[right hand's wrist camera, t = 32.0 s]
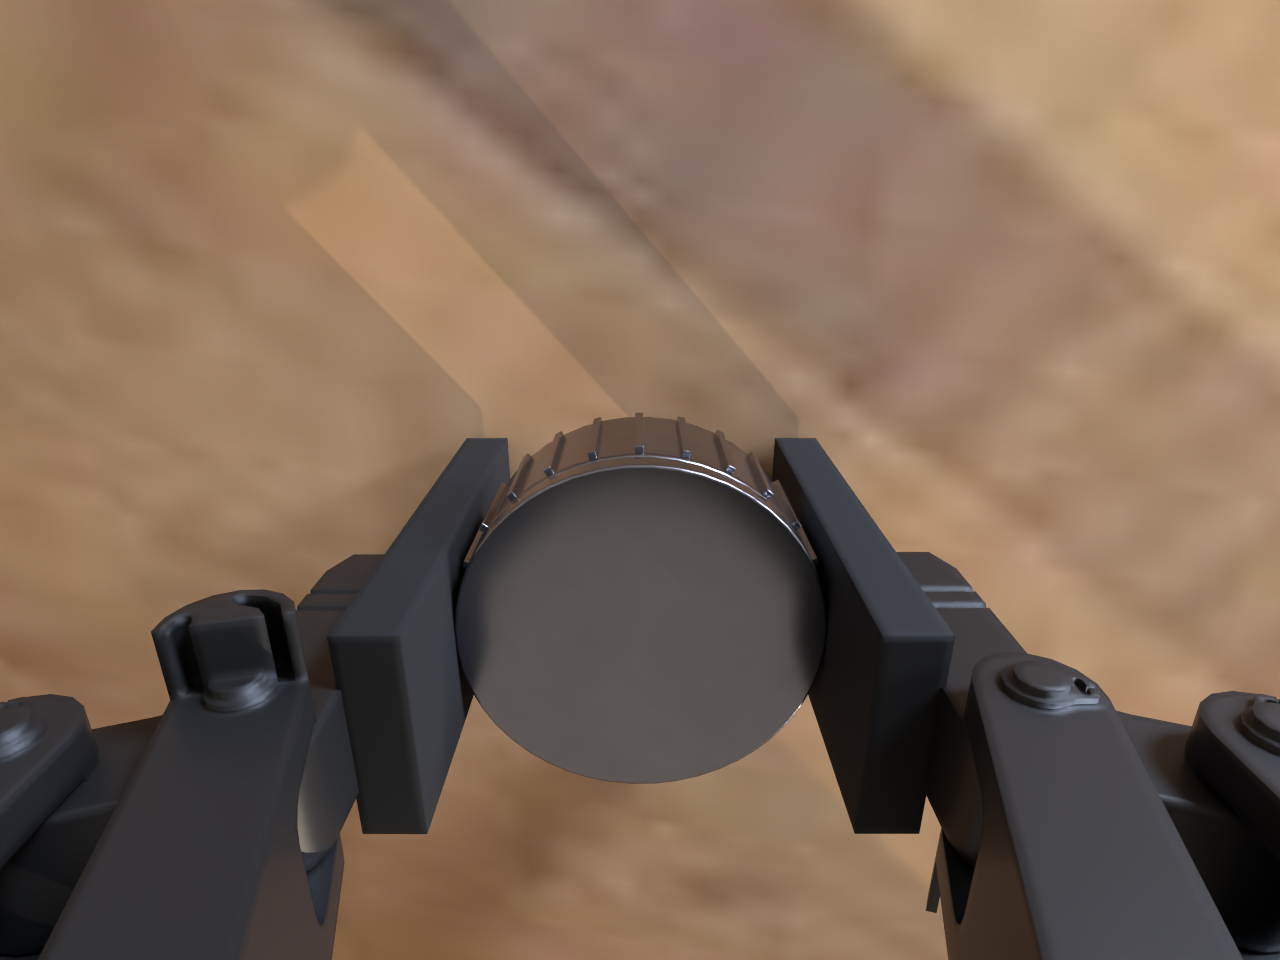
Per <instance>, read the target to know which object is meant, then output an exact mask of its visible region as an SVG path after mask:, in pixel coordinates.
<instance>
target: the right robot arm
mask: <svg viewBox="0 0 1280 960" xmlns="http://www.w3.org/2000/svg"><path fill="white" fill-rule="evenodd" d="M776 480H779V482H780V483H781V485H782V487H783V489H784V491H785V493H786V495H787V497H788V499H789V502H790V504H791V506H792V508H793V510H794V512H795V513H796V515H797V517H798V519H799V521H800V523H801V525H802V527H803V529H804V531H805V533H806V536H807V538H808V540H809V542H810V544H811V546H812V548H813V550H814V552H815V554H816V556H817V559H818V562H819V564H817V565H815V568H816V570H817V573H818V576H819V578H820V581H821V583H822V588H823V592H824V597H825V601H826V610H827V636H826V646H825V650H824V654H823V658H822V662H821V666H820V669H819V672H818V674H817V676H816V679H815V681H814V684H813V686H812V688H811V690H810V691H809V693H808V695H809V698H810V701H811V704H812V707H813V710H814V713H815V716H816V719H817V722H818V725H819V728H820V731H821V734H822V737H823V740H824V743H825V746H826V749H827V752H828V755H829V758H830V761H831V764H832V767H833V770H834V773H835V776H836V779H837V782H838V785H839V788H840V791H841V794H842V797H843V800H844V803H845V806H846V809H847V812H848V815H849V818H850V821H851V824H852V827H853V830H854V833H855V834H919V832H920V826H921V821H922V815H923V810H924V804H925V799H926V795H927V797H928V800H929V802H930V804H931V806H932V808H933V810H934V812H935V814H936V816H937V819H938V821H939V823H940V825H941V827H942V828H941V833H940V838H939V843H938V848H937V853H936V858H935V863H934V868H933V873H932V878H931V883H930V888H929V893H928V900H927V907H926V911H930V912H934V913H936V912H937V907H938V903H939V898H941V906H942V913H943V921H944V929H945V936H946V944H947V952H948V959H949V960H1280V700H1279V699H1276V697H1273V696H1268V695H1263V694H1253V693H1245V692H1236V691H1230V692H1222V693H1215V694H1211V695H1209V696H1208V697H1207V698H1206V699H1204V700H1203V701H1202V702H1200V705H1199V707H1198V710H1197V713H1196V716H1195V719H1194V722H1193V725H1192V727H1191V726H1186V725H1181V724H1176V723H1171V722H1166V721H1161V720H1156V719H1151V718H1146V717H1141V716H1136V715H1130V714H1127V713H1123V712H1119V711H1116V710H1115V708H1114V706H1113V704H1112V703H1111V701H1110V699H1109V698H1108V696H1107V695H1106V694H1105V693H1104V692H1103V690H1102V689H1101V688H1100V687H1099V686H1098V684H1097V683H1095V682H1094V681H1092V680H1091V679H1089V678H1088V677H1086V676H1085V675H1083V674H1082V673H1080V672H1079V671H1077V670H1076V669H1073V668H1071V667H1069V666H1066V665H1064V664H1062V663H1059V662H1057V661H1054V660H1052V659H1048V658H1044V657H1039V656H1035V655H1031V654H1027V653H1026V652H1025V650H1024V649H1023V648H1022V647H1021V646H1020V644H1019V643H1018V642H1017V641H1016V640H1015V638H1014V637H1013V636H1012V635H1011V634H1010V632H1009V631H1008V630H1007V629H1006V628H1005V626H1004V625H1003V624H1002V623H1001V622H1000V620H999V619H998V618H997V617H996V616H995V614H994V613H993V612H992V611H991V610H990V608H986V604H985V602H984V601H983V600H982V599H981V598H980V596H979V595H978V594H977V593H976V592H972V587H971V586H970V584H969V583H968V582H967V581H966V580H965V578H964V577H963V576H962V575H961V574H960V573H959V571H958V570H957V569H956V568H954V567H953V566H951V565H949V564H948V563H946V562H944V561H943V560H941V559H939V558H938V557H936V556H934V555H933V554H931V553H929V552H896V551H895V550H894V549H893V547H892V546H891V544H890V543H889V542H888V540H887V539H886V537H885V536H884V534H883V533H882V532H881V530H880V529H879V527H878V526H877V525H876V523H875V522H874V520H873V519H872V518H871V516H870V515H869V513H868V512H867V510H866V509H865V508H864V506H863V505H862V503H861V502H860V501H859V499H858V498H857V496H856V495H855V493H854V492H853V491H852V489H851V488H850V486H849V485H848V484H847V482H846V481H845V479H844V478H843V476H842V475H841V474H840V472H839V471H838V469H837V468H836V467H835V465H834V464H833V462H832V461H831V460H830V458H829V457H828V455H827V454H826V452H825V451H824V450H823V448H822V447H821V445H820V444H819V443H818V441H817V440H816V438H775V447H774V461H773V475H772V481H773V482H775V481H776ZM509 481H510V471H509V457H508V442H507V438H467V439H466V440H465V442H464V443H463V444H462V446H461V447H460V449H459V450H458V452H457V453H456V454H455V456H454V457H453V459H452V460H451V461H450V463H449V464H448V466H447V467H446V469H445V470H444V471H443V473H442V474H441V476H440V477H439V478H438V480H437V481H436V483H435V484H434V485H433V487H432V488H431V490H430V491H429V493H428V494H427V495H426V497H425V498H424V500H423V501H422V502H421V504H420V505H419V507H418V508H417V510H416V511H415V512H414V514H413V515H412V517H411V518H410V519H409V521H408V522H407V524H406V525H405V527H404V528H403V529H402V531H401V532H400V534H399V535H398V536H397V538H396V539H395V541H394V542H393V543H392V545H391V546H390V548H389V549H388V551H387V552H386V553H385V555H352V556H351V557H349V558H347V559H346V560H344V561H342V562H341V563H339V564H337V565H336V566H334V567H332V568H331V569H329V570H328V571H326V572H325V574H324V575H323V576H322V577H321V578H320V580H319V581H318V582H317V583H316V584H315V586H314V587H313V588H312V589H311V593H310V594H307V595H306V596H305V598H304V599H303V600H302V601H301V603H300V604H299V605H298V606H297V611H296V610H295V605H294V602H293V601H292V600H291V599H289V598H288V597H287V596H285V595H284V594H283V593H278V592H273V591H268V590H239V591H234V592H229V593H224V594H219V595H214V596H211V597H208V598H205V599H202V600H199V601H197V602H194V603H191V604H188V605H186V606H184V607H183V608H181V609H179V610H177V611H176V612H174V613H172V614H170V615H169V616H167V617H165V618H164V619H163V620H162V621H161V622H160V623H159V624H158V625H157V626H156V627H155V628H154V629H153V630H152V631H151V634H152V637H153V641H154V644H155V648H156V651H157V655H158V658H159V662H160V665H161V669H162V672H163V676H164V679H165V683H166V686H167V690H168V693H169V697H170V702H169V704H168V706H167V708H166V710H165V712H164V714H163V715H161V716H157V717H153V718H148V719H143V720H138V721H133V722H128V723H122V724H117V725H112V726H107V727H102V728H97V729H91V726H90V723H89V720H88V717H87V714H86V711H85V709H84V706H83V705H82V704H81V703H79V702H78V701H77V700H75V699H74V698H73V697H68V696H61V695H53V694H49V695H40V696H32V697H21V698H17V699H12V700H8V702H6V703H4V702H1V703H0V960H332V954H333V946H334V938H335V931H336V923H337V915H338V907H339V900H340V892H341V884H342V877H343V869H344V856H343V848H342V843H341V838H340V831H341V829H342V827H343V825H344V823H345V821H346V818H347V816H348V814H349V812H350V810H351V808H352V806H353V804H354V801H355V799H357V804H358V810H359V815H360V821H361V826H362V832H363V834H427V833H428V830H429V827H430V824H431V821H432V818H433V815H434V812H435V809H436V806H437V803H438V800H439V797H440V794H441V791H442V788H443V785H444V782H445V779H446V776H447V773H448V770H449V767H450V764H451V761H452V758H453V755H454V752H455V749H456V746H457V743H458V740H459V737H460V734H461V731H462V728H463V725H464V722H465V719H466V716H467V713H468V710H469V707H470V704H471V701H472V698H473V695H474V694H473V692H472V690H471V688H470V686H469V684H468V681H467V679H466V677H465V675H464V672H463V669H462V666H461V662H460V659H459V655H458V652H457V645H456V637H455V608H456V602H457V597H458V592H459V587H460V584H461V581H462V579H463V576H464V573H465V570H466V568H464V567H462V564H463V561H464V559H465V557H466V555H467V553H468V551H469V548H470V546H471V544H472V542H473V540H474V538H475V536H476V534H477V532H478V529H479V527H480V525H481V523H482V521H483V519H484V517H485V515H486V513H487V511H488V509H489V507H490V504H491V502H492V500H493V498H494V496H495V494H496V492H497V490H498V488H499V486H500V484H501V483H502V482H503V483H505V484H506V485H507V483H508V482H509Z"/></svg>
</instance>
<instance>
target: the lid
mask: <svg viewBox="0 0 1280 960" xmlns="http://www.w3.org/2000/svg"><path fill="white" fill-rule="evenodd" d="M817 564H819V562H818V559H817V556H816V554H815V552H814V550H813V548H812V546H811V544H810V542H809V540H808V538H807V536H806V533H805V531H804V529H803V527H802V525H801V523H800V521H799V519H798V517H797V515H796V513H795V512H794V510H793V508H792V506H791V504H790V502H789V499H788V497H787V495H786V493H785V491H784V489H783V487H782V485H781V483H780V482H779V480H776V481H775V482H773V481H772V480H771V479H770V477H769V476H768V475H767V473H766V472H765V471H764V470H763V468H761V465H760V463H759V461H758V458H757V456H756V455H755V454H754V453H753V452H750V453H749V454H746V453H745V452H744V451H742V450H741V449H740V448H738V447H737V446H736V445H734V444H733V443H731V442H729V441H728V440H726V439H725V436H724V433H723V432H721V431H719V430H717V431H716V433H713V432H710V431H708V430H705V429H702V428H700V427H697V426H695V425H692V424H687V423H685V418H682V417H678V418H677V421H675V420H671V419H662V418H653V417H643V413H636V415H635V417H627V418H620V419H613V420H606V421H602V420H601V417H599V418H595V419H594V421H593V424H591V425H587V426H584V427H581V428H579V429H577V430H574V431H572V432H569V433H567V434H565V435H564V434H563V433H562V431H561V432H559V433H557V434H555V437H554V440H553V442H551V443H549V444H547V445H546V446H544V447H543V448H542V449H541V450H539V451H538V452H537V453H535V454H534V455H533V456H532V457H531V456H530V455H529V454H526V455H525V456H524V457H523V459H522V461H521V464H520V466H519V468H518V471H517V472H516V473H515V474H514V475H513V477H512V478H511V479H510V481H509V482H508V483H507V485H506V484H505V483H503V482H502V483H501V484H500V486H499V488H498V490H497V492H496V494H495V496H494V498H493V500H492V502H491V504H490V507H489V509H488V511H487V513H486V515H485V517H484V519H483V521H482V523H481V525H480V527H479V529H478V532H477V534H476V536H475V538H474V540H473V542H472V544H471V546H470V548H469V551H468V553H467V555H466V557H465V559H464V561H463V564H462V567H464V568H466V570H465V573H464V576H463V579H462V581H461V584H460V587H459V592H458V597H457V602H456V608H455V637H456V645H457V652H458V655H459V659H460V662H461V666H462V669H463V672H464V675H465V677H466V679H467V681H468V684H469V686H470V688H471V690H472V692H473V694H474V695H475V697H476V699H477V700H478V702H479V703H480V705H481V707H482V708H483V709H484V711H485V712H486V713H487V714H488V715H489V717H490V718H491V719H492V720H493V722H494V723H495V724H496V725H497V726H498V727H499V728H500V729H501V730H502V731H503V732H505V733H506V734H507V735H508V736H509V737H510V738H511V739H512V740H514V741H515V742H516V743H518V744H519V745H520V746H522V747H523V748H524V749H526V750H527V751H529V752H530V753H532V754H534V755H536V756H537V757H539V758H541V759H543V760H544V761H546V762H548V763H550V764H553V765H555V766H557V767H560V768H562V769H564V770H567V771H569V772H573V773H576V774H579V775H582V776H586V777H589V778H594V779H599V780H605V781H610V782H620V783H631V784H642V783H662V782H671V781H678V780H683V779H687V778H692V777H696V776H700V775H703V774H706V773H709V772H712V771H715V770H718V769H720V768H722V767H725V766H727V765H729V764H731V763H733V762H736V761H738V760H740V759H741V758H743V757H745V756H746V755H748V754H750V753H751V752H753V751H755V750H756V749H758V748H759V747H760V746H762V745H763V744H764V743H765V742H767V741H768V740H769V739H771V738H772V737H773V736H774V735H775V734H776V733H777V732H778V731H779V730H780V729H781V728H782V727H783V726H784V725H785V724H786V723H788V722H789V720H790V719H791V718H792V717H793V715H794V714H795V713H796V711H797V710H798V709H799V708H800V706H801V705H802V703H803V702H804V700H805V698H806V697H807V695H808V693H809V691H810V690H811V688H812V686H813V684H814V681H815V679H816V676H817V674H818V672H819V669H820V666H821V662H822V658H823V654H824V650H825V646H826V636H827V610H826V601H825V597H824V592H823V588H822V583H821V581H820V578H819V576H818V573H817V570H816V568H815V565H817Z"/></svg>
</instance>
